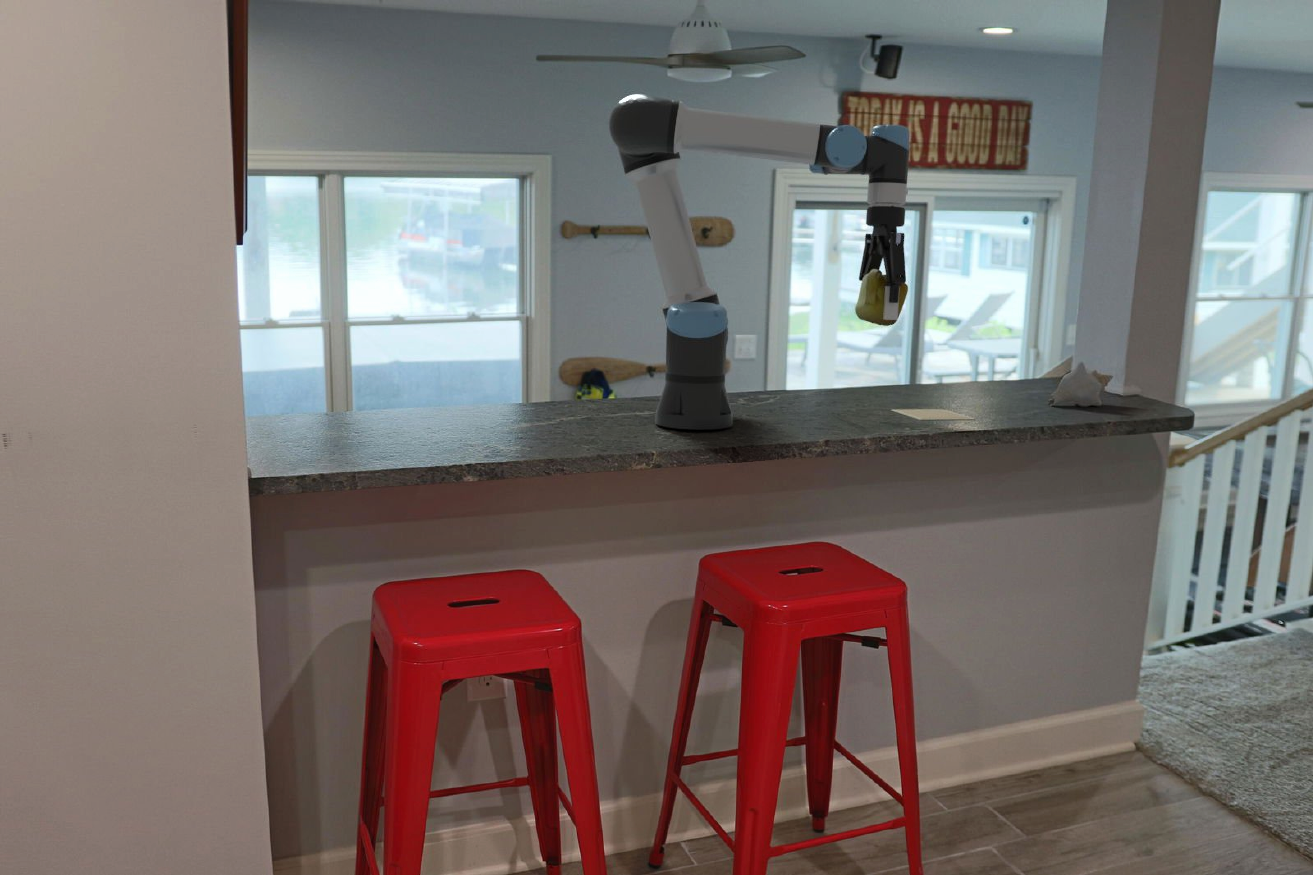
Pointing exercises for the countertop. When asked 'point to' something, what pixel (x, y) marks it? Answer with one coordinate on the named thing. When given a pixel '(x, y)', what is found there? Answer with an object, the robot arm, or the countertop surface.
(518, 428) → the countertop surface
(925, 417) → the mat
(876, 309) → the mug
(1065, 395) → the seashell
